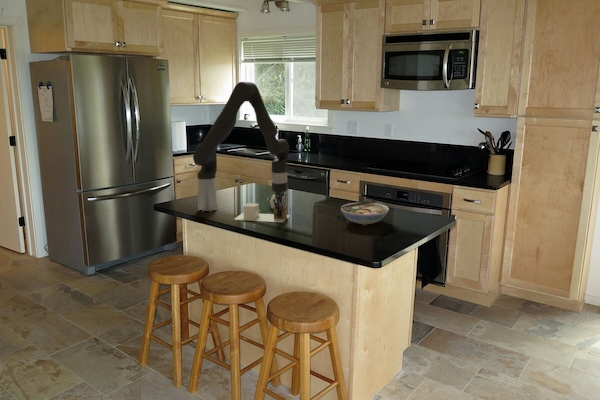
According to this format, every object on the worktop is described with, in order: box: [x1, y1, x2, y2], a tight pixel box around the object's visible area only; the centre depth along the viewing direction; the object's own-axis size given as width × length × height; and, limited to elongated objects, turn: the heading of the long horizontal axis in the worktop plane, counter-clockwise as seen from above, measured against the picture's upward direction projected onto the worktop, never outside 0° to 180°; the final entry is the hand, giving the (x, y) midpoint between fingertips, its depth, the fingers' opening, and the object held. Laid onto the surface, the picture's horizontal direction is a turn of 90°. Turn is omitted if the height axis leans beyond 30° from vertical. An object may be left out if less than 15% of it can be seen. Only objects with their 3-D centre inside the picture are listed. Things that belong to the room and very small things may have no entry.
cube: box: [242, 202, 260, 219], centre depth 257 cm, size 6×6×6 cm
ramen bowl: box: [334, 199, 390, 226], centre depth 245 cm, size 25×23×8 cm
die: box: [269, 194, 286, 210], centre depth 272 cm, size 8×9×10 cm
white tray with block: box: [232, 205, 291, 223], centre depth 255 cm, size 25×13×7 cm, turn 75°
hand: (280, 215), depth 253 cm, fingers closed on white tray with block, 2 cm apart
